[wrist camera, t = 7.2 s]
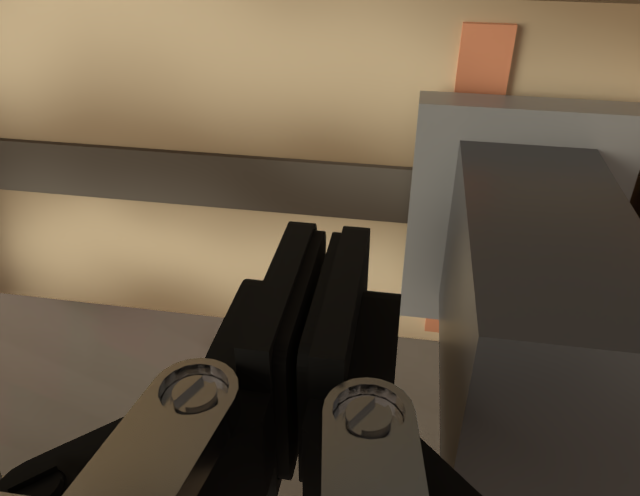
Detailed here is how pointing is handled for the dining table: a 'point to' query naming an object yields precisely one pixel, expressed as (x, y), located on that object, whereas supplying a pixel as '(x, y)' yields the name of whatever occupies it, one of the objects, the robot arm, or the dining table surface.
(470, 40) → the fader track
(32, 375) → the dining table surface
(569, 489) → the fader knob
